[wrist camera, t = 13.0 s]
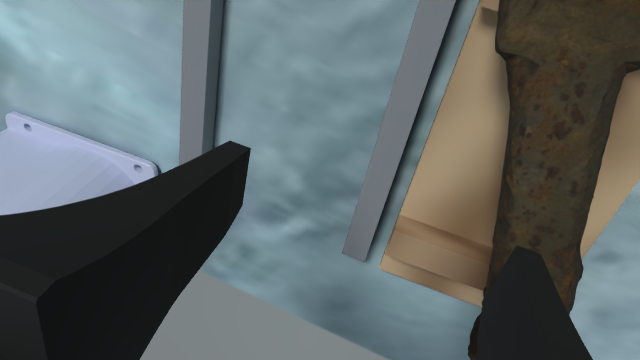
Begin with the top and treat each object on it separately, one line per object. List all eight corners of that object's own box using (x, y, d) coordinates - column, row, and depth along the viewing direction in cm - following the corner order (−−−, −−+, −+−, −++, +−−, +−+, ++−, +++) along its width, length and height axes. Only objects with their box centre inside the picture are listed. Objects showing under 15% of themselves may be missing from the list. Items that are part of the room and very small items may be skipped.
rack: (382, 258, 28) (373, 285, 26) (529, -130, 17) (528, -124, 15) (533, 314, 27) (533, 345, 25) (797, -61, 16) (827, -47, 14)
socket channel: (189, 179, 29) (178, 192, 28) (207, -213, 18) (189, -214, 17) (369, 246, 27) (364, 261, 27) (503, -136, 17) (502, -133, 16)
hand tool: (471, 312, 25) (580, 329, 24) (464, 378, 22) (590, 402, 20) (510, -164, 16) (688, -183, 15) (508, -175, 13) (738, -201, 11)
